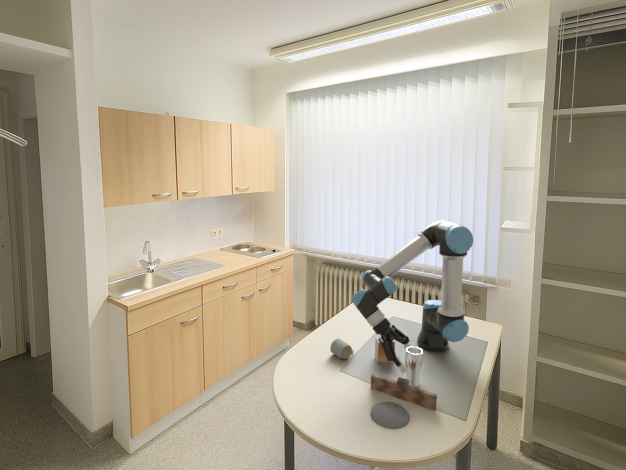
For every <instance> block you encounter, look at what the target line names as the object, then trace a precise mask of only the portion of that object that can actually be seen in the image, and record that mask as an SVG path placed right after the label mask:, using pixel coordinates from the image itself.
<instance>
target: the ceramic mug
mask: <svg viewBox="0 0 626 470" xmlns="http://www.w3.org/2000/svg"><path fill="white" fill-rule="evenodd" d="M329 350H330V352H331V354H334V355H335V356H337V357H338V358H340V359H341V360H347V359H349V358H350V357H351V355H353V354H354V350H353V348H352V346H351V345H350V344H349V343H347V342H346V341H344V340H343V339H341V338H336V339H334V340H333V341H332V343H331V345H330V349H329Z"/></svg>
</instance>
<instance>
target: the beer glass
mask: <svg viewBox="0 0 626 470" xmlns="http://www.w3.org/2000/svg"><path fill="white" fill-rule="evenodd" d="M405 350H406V351H405V358H404V360H405V361H404V362H405V364H404V365H405V366H406V368H407V369H408V371H407V372H405V373H406V375H405V379H407V380H409V386H412V387H416V388H419V387H420V384H421V380H420V375H421V371H422V367H423V361H424V359H423V358H424V357H423V356H424V355H423V354H424V352H423V348H421V347H420V348H419V347H417V346H411V347H408V348H407V349H405Z"/></svg>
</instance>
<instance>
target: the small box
mask: <svg viewBox="0 0 626 470" xmlns="http://www.w3.org/2000/svg"><path fill="white" fill-rule="evenodd" d="M380 337H381V336H379V337H378V336H376V337H375V343H374V344H375V345H374V359H375V360H376V363H377V364H395V363H394V362H393V361H388V359H387V357H386V355H385V352H384V350H383V348H382V345H381V343H380V342H379V340H378V338H380ZM393 347H394V350H395V348H396V340H393Z"/></svg>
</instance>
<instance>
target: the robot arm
mask: <svg viewBox="0 0 626 470" xmlns="http://www.w3.org/2000/svg"><path fill="white" fill-rule="evenodd" d="M473 245H474V236H473V233H472V231H471V230H470V229H469V228H468V227H466V226H464V225H462V224H457V223H455V222H451V221H449V220H438V221H435V222H433V223H431V224H430V225H428V226H426V227H425V228H423V229H422V230H421V231H419V232H418V233H417V237H415V238H413V240H411V241H410V242H408V243H407V244H405V245H404V246H403V247H401V248H400V249H399V250H397V251H396V252H395V253H393V255H391V256H390V257H388V258H387V259H386V260H385V261H383V262H382V263H381V264H379V265H378V266H376V267H375V268H374V269H372V270H371V269H370V270H368V269H367V270H365V271H364V272H363V273H362V275H361V282H362V283H363V284H364V286H365V287H367V288H368V290H365V288H361V289H360V290H359V291H357V292H356V293H355V294H354V295H352V296H351V302H352V303H353V305H354V306H355V308H356V309H357V311H359V313H360V314H361V316H362V317H363V318H364V319H365V320H366V322H367V324H369V326H370V327H372V330H373V331H374V333H375V334H376V335H380V336H379V337H380V338H378V340H379V342H380V343H381V345H382V348H383V350H384V352H385V355H386V357H387V359H388V361H393V362H394V363H393V364H395V367H396V368H398V370H400V372H401V373H402V374H405V373H406V372H407V371H408V369H407V368H406V365H405V364H404V362H403V361H402V360H401V358H400V357H399V356H397V354H396V351H395V350H394V347H393V340H394V341H395V342H398V343H400V344H401V345H403V348H404V349H405V350H406V349H407V348H408V347H412V345H411V344H410V343H409V342H410V338H409V336H407V335H406V334H405V333H403V332H402V331H401V330H400V329H398V328H397V327H396V326H395V325H394V324H391V322H390V321H389V319H388V318H387V317H385V314H384V313H383V311H382V310H381V309H380V308H379V307H378V305H379V304H381V303H382V302H383V301H384V300H386V299H387V298H389V297H390V296H392V295H393V294H394V293H395V292H396V291H397V290H398V287H397V285H396V283H395V282H394V280H393V279H392V276H394V275H395V274H397V273H398V272H400V271H401V270H402V269H403V268H404V267H406V266H407V265H409V264H410V263H411V262H412V261H414V260H415V259H417V258H418V257H420V255H422V254H423V253H425V252H426V251H427V250H432V249H433V248H435V247H437V246H439V255H440V256H441V257H442V271H441V275H442V276H441V299H439V300H438V299H428V300H425V301H424V302H423V305H422V320H421V328H420V332H419V333H418V336H417V339H416V340H417V341H416V343H417V345H418V346H419V347H420V349H422V350H423V349H424V350H427V351H429V352H436V353H437V352H445V351H446V350H448V349H449V342H450V343H458V342H461V341H462V340H464V338H466V336H468V334H469V331H470V327H469V326H470V325H469V323H468V322H467V321H466V320H465V310H463V308H462V297H463V296H462V292H463V271H464V270H463V269H464V258H465V257H467V255H468V252H469V251H470V250H471V249H470V248H472V247H473Z"/></svg>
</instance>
